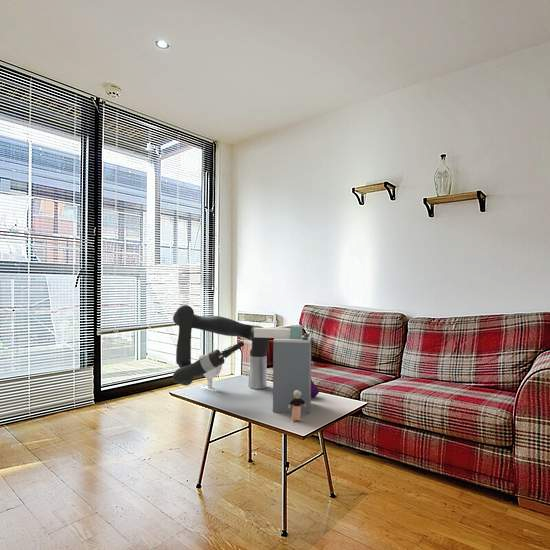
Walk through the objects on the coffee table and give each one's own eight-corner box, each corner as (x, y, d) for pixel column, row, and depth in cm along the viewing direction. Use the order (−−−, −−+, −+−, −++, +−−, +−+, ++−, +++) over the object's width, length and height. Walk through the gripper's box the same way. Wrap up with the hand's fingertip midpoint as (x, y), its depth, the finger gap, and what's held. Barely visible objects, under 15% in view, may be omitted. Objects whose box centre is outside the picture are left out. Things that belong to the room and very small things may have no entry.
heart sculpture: (222, 390, 215) (223, 356, 215) (215, 392, 211) (215, 357, 212) (204, 385, 226) (204, 352, 226) (197, 387, 222) (197, 354, 222)
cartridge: (253, 337, 188) (253, 325, 188) (255, 335, 193) (255, 324, 193) (301, 338, 185) (301, 326, 185) (302, 337, 190) (302, 325, 190)
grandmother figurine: (291, 423, 166) (291, 392, 166) (287, 420, 170) (287, 389, 170) (307, 420, 169) (307, 390, 170) (303, 417, 173) (303, 388, 173)
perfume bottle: (299, 397, 204) (299, 361, 204) (308, 394, 209) (308, 359, 209) (311, 400, 199) (311, 363, 199) (320, 397, 204) (320, 361, 204)
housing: (272, 411, 180) (273, 337, 181) (277, 401, 196) (278, 332, 197) (309, 413, 178) (309, 337, 179) (310, 403, 194) (311, 333, 195)
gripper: (203, 356, 186) (233, 339, 184) (212, 351, 200) (240, 335, 198) (211, 371, 186) (241, 354, 184) (220, 364, 200) (248, 348, 198)
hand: (241, 344), depth 191 cm, fingers open, 8 cm apart
